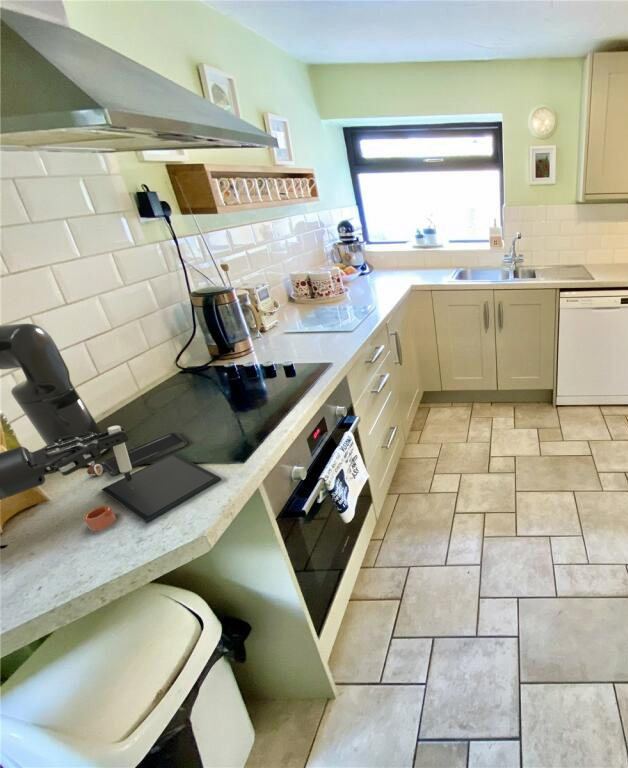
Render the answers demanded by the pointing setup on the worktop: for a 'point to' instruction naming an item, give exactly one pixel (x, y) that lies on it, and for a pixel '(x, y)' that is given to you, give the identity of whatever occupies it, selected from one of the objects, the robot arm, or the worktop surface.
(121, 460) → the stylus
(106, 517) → the orange hollow cylinder
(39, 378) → the robot arm
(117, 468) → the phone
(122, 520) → the worktop surface
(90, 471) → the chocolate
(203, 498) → the worktop surface
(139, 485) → the tablet
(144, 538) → the worktop surface
